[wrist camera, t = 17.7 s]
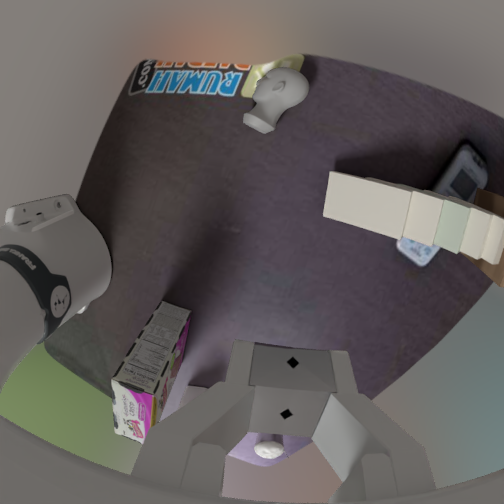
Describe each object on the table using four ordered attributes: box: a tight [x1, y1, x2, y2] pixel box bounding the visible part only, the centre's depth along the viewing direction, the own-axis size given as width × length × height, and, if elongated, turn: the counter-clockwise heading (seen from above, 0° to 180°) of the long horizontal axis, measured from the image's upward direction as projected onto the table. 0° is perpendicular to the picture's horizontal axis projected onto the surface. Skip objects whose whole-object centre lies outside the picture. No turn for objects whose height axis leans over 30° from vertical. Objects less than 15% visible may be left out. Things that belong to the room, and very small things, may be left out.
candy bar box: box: [112, 301, 192, 444], centre depth 36 cm, size 11×5×16 cm, turn 165°
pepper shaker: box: [178, 386, 208, 410], centre depth 44 cm, size 4×4×10 cm
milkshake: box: [254, 433, 288, 459], centre depth 43 cm, size 5×5×10 cm
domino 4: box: [424, 190, 494, 260], centre depth 29 cm, size 2×5×9 cm
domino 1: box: [323, 171, 413, 240], centre depth 31 cm, size 2×5×9 cm
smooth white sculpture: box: [243, 67, 309, 134], centre depth 29 cm, size 4×8×5 cm
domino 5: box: [449, 196, 504, 265], centre depth 29 cm, size 2×5×9 cm, turn 174°
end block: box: [461, 188, 504, 287], centre depth 28 cm, size 4×9×10 cm, turn 174°
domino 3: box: [397, 184, 472, 254], centre depth 30 cm, size 2×5×9 cm
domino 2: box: [366, 177, 445, 247], centre depth 31 cm, size 2×5×9 cm
